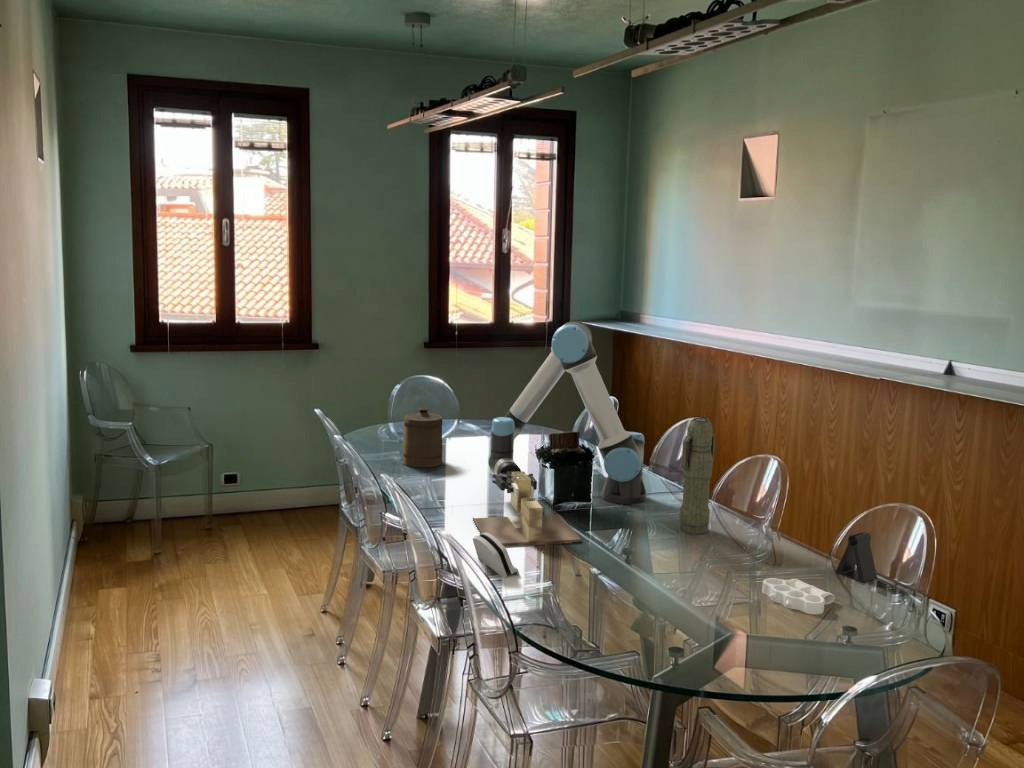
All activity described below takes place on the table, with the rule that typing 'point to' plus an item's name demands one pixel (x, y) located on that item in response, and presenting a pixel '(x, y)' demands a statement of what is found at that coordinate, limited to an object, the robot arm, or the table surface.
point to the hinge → (494, 554)
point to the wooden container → (422, 439)
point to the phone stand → (858, 559)
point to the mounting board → (516, 537)
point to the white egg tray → (797, 595)
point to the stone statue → (697, 476)
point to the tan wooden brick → (520, 488)
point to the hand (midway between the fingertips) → (524, 492)
